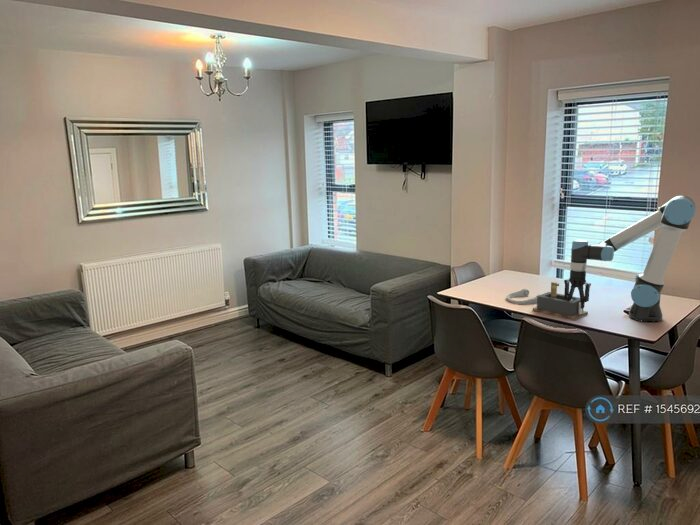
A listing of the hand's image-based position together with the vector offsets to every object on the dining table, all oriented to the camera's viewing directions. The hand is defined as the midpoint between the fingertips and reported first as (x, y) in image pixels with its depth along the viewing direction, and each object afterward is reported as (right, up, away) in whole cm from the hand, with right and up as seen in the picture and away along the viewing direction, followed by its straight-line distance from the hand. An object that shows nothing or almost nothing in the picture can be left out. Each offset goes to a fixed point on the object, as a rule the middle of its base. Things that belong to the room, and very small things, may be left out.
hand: (575, 312), depth 274 cm
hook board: (-5, -1, +7) cm, 9 cm away
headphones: (-17, +4, +32) cm, 36 cm away
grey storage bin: (-6, +1, +7) cm, 9 cm away
